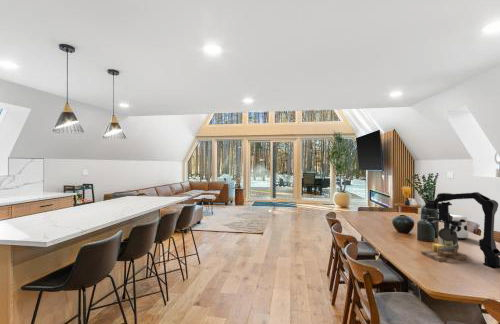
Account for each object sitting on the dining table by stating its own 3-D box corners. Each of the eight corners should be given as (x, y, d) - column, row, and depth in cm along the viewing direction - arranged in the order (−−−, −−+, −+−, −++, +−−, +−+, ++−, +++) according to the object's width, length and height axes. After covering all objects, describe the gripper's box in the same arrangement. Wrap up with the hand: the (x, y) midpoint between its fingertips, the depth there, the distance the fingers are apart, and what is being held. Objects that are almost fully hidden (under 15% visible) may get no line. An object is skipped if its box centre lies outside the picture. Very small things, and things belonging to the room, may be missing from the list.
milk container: (459, 235, 227) (459, 214, 227) (473, 240, 210) (473, 218, 210) (438, 234, 230) (437, 213, 230) (450, 239, 213) (450, 217, 213)
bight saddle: (444, 252, 175) (444, 245, 175) (438, 253, 174) (438, 246, 174) (437, 250, 180) (437, 243, 180) (432, 250, 180) (432, 243, 180)
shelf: (466, 259, 167) (466, 249, 168) (438, 261, 165) (438, 250, 165) (447, 252, 181) (447, 242, 181) (421, 253, 179) (421, 243, 179)
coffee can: (452, 237, 188) (450, 225, 181) (462, 249, 180) (460, 237, 173) (437, 242, 191) (434, 230, 184) (446, 254, 182) (443, 242, 176)
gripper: (464, 212, 177) (465, 235, 176) (434, 208, 193) (434, 229, 192) (457, 213, 171) (458, 237, 171) (426, 209, 187) (426, 231, 187)
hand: (444, 233), depth 180 cm, fingers open, 9 cm apart
